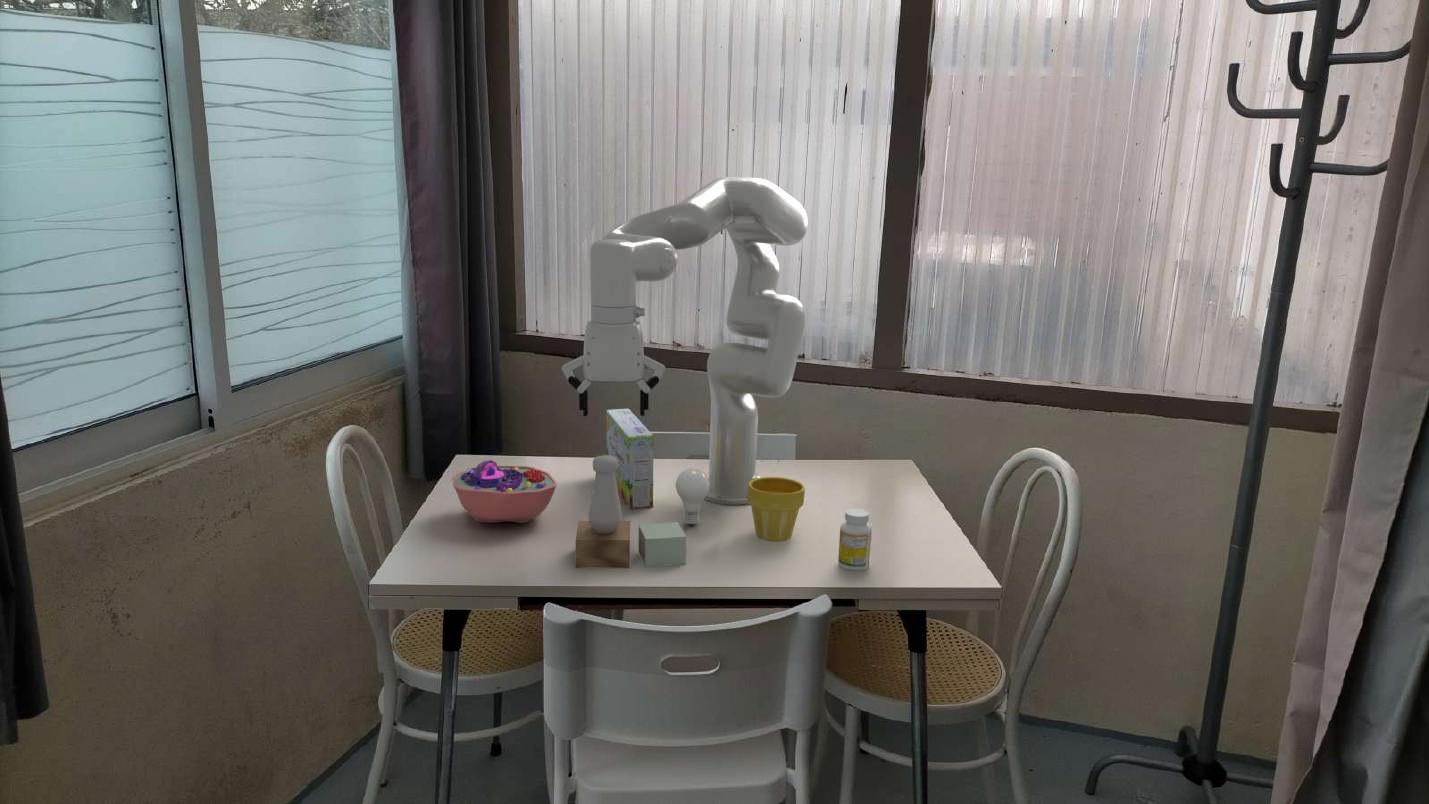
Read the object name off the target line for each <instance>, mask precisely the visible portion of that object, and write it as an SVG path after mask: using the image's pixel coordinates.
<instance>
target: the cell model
mask: <svg viewBox="0 0 1429 804" xmlns="http://www.w3.org/2000/svg"><path fill="white" fill-rule="evenodd" d="M451 482H452V486H453V488H454V490H455V492H456V494H457V497H458V500H459V502H460V506H461V507H463V508H464V510H465V511H466V512H467V513H468V514H469V515H470V517H472V518H473V519H474V520H476V521H478V522H481V523H500V522H501V523H502V522H512V523H515V524H525V523H527V522H529V521H532V520H533V519H535V518H536V517H538V516H539V515H541V514H542V513H543V512H544V511H545V510H546V509H547V508H548V506H549V504H550V502H551V500H552V498H553V495H554V492H555V490H556V487H557V486H558V485H557V484H558V483H557V481H556V479H555V478H554V477H553V476H552V475H551V474H550V473H549V472H548V471H546V470H543V469H540V468H537V467H534V466H530V465H529V466H528V465H498V464H497V462H495V461H494V460H491V459H489V460H484V461H481V462H480V463H478V464H477V465H476V467H470V468H466V469H463V470H462V471H460V472H457V474H454V475H453V476H452V477H451Z"/></svg>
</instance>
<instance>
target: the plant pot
mask: <svg viewBox="0 0 1429 804" xmlns="http://www.w3.org/2000/svg"><path fill="white" fill-rule="evenodd" d="M805 491H806V487H805V485H804V484H803V483H802V482H800V481H797V480H796V479H791V478H787V477H781V476H780V477H779V476H763V477H762V478H756V479H753V480H751V481H750V482H749V484H748V502H749V503H748V504H749V505H751V512H752V518H753V524H754V526H753V527H754V531H755V534H756V536H757V537H758V538H759V539H761V540H764V541H768V542H783V541H788V540H789V539H791V538H792V536H793V532H794V529H795V525H796V521H797V517H798V514H799V510H800V509H801V507H803V505H804V502H805Z"/></svg>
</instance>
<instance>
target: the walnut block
mask: <svg viewBox="0 0 1429 804" xmlns="http://www.w3.org/2000/svg"><path fill="white" fill-rule="evenodd" d="M577 524H578V525H577V530H576V536H575V569H629V568H630V566H631V565H630V563H631V559H630V558H631V520H621V522H620V524H619V526H618V528H617V529H616V531H615V532H614V533H609V534H600V533H595V531H594V530H593V528H592V526H591V524H590V522H589V520H578V522H577Z"/></svg>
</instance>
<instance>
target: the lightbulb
mask: <svg viewBox="0 0 1429 804" xmlns="http://www.w3.org/2000/svg"><path fill="white" fill-rule="evenodd" d="M675 481H676V482H675V491H676V493H677V495H678V496H679V498H680V499H681V501H682V506H683V509H684V523H685V524H687V525H689V526H695V525H697V524H699V522H700V521H699V519H700V510H701V508H702V504H703V502H704V500H705V497H706V496H707V494H708V492H709V489H710V482H709V476H708V475H707V474H706V473H705V472H704V471H703V470H701V469H699V468H695V467H693V468H690V467H689V468H686V469H684V470H683V471H682V472H680V473H679V474H678V476H677V478H676V480H675Z"/></svg>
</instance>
